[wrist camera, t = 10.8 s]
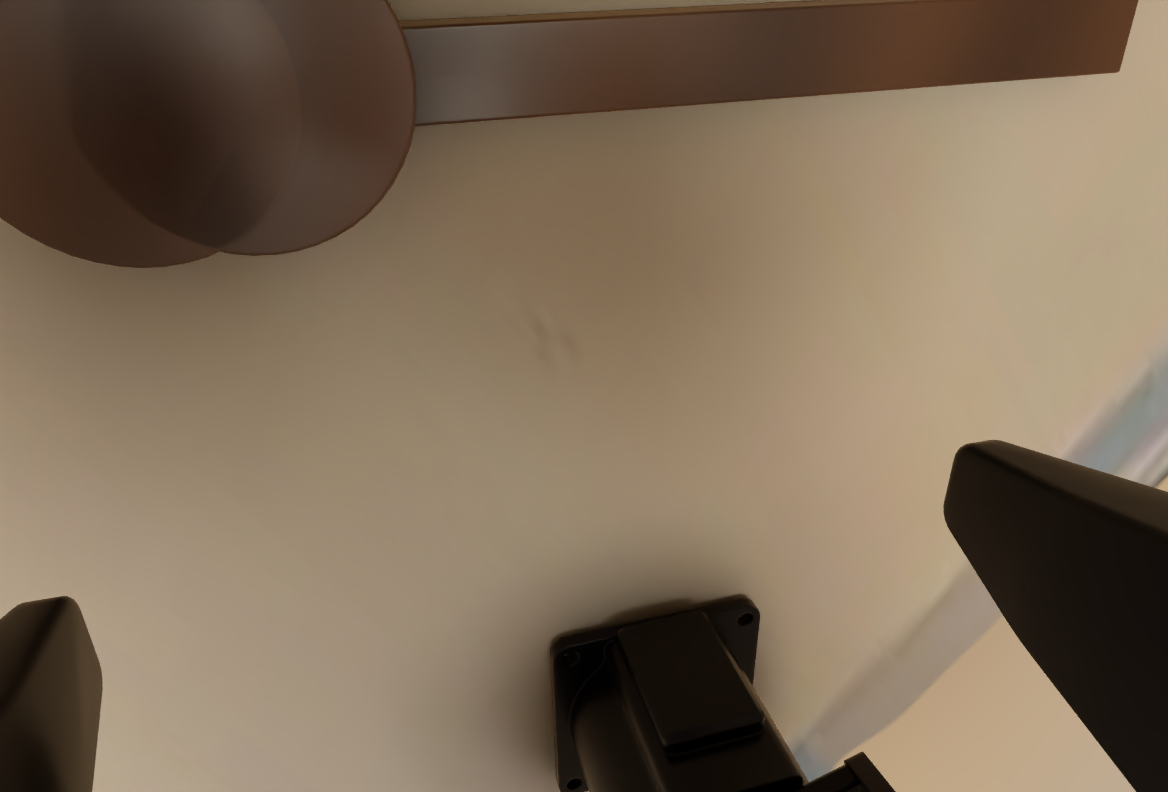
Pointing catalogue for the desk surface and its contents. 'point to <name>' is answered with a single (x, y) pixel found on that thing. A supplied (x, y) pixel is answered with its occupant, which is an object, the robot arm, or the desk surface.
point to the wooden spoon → (418, 95)
